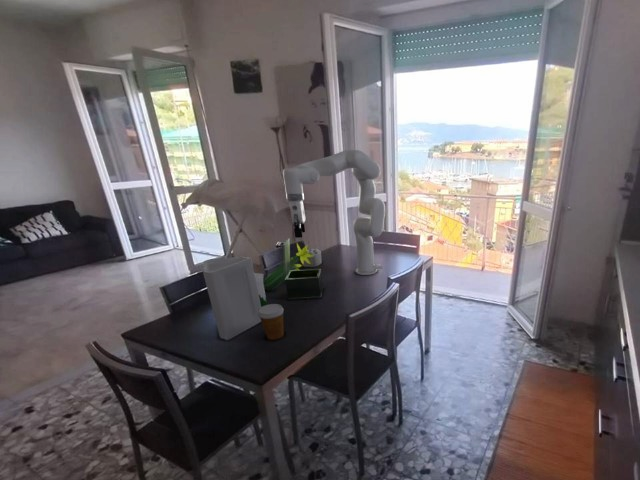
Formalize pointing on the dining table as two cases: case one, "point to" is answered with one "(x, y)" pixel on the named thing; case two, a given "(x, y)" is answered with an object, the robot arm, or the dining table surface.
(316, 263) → the lumpy-topped squat cylinder
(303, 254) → the daffodil flowers
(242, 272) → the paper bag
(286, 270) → the bin lid
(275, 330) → the disposable coffee cup
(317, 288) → the waste bin
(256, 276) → the milk carton
